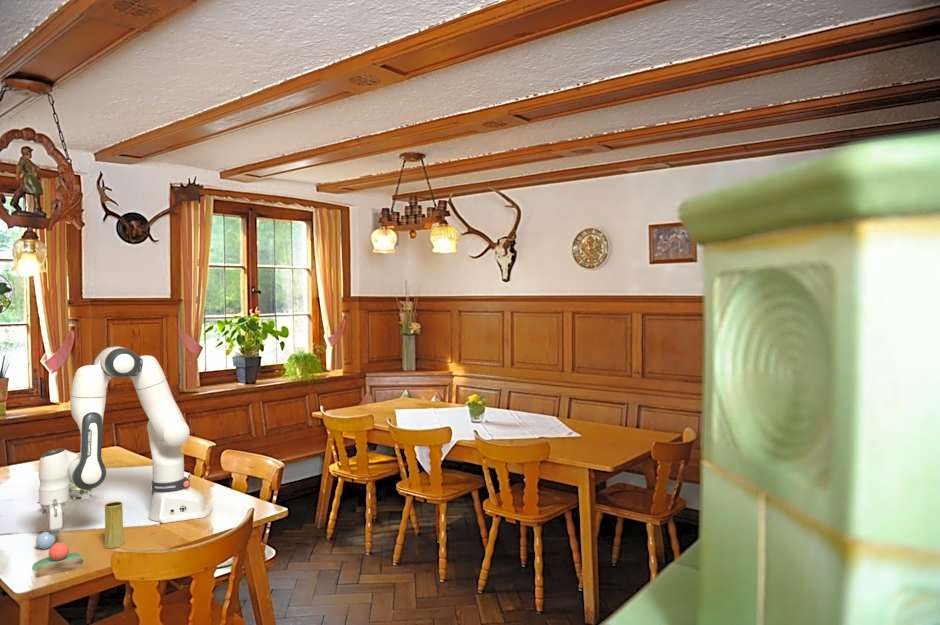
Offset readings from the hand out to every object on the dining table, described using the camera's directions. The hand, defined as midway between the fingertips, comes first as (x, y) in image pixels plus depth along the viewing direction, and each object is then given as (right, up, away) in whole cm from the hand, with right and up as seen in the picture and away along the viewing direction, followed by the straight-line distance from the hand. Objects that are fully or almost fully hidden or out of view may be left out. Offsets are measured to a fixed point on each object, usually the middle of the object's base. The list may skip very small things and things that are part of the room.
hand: (54, 535), depth 224 cm
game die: (-21, -1, +30) cm, 36 cm away
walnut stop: (+18, -2, -25) cm, 31 cm away
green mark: (+13, -2, -19) cm, 23 cm away
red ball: (+12, +1, -17) cm, 21 cm away
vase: (+23, -2, -5) cm, 24 cm away
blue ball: (+1, +1, -7) cm, 7 cm away
